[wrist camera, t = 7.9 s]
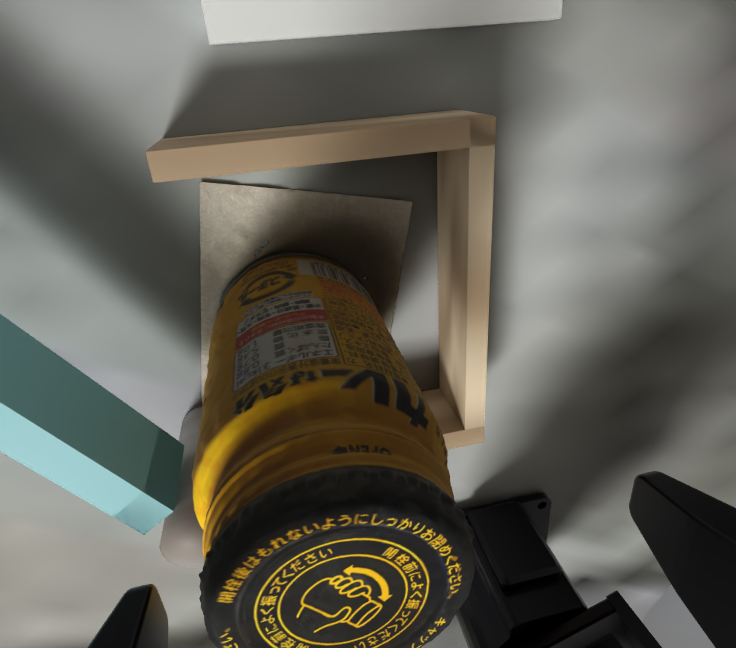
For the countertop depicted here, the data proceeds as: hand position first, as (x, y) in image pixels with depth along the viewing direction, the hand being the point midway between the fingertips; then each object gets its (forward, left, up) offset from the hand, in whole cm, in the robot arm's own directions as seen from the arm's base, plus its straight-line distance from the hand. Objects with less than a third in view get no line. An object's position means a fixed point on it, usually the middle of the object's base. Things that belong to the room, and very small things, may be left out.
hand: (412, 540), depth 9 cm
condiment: (0, +1, -12) cm, 12 cm away
